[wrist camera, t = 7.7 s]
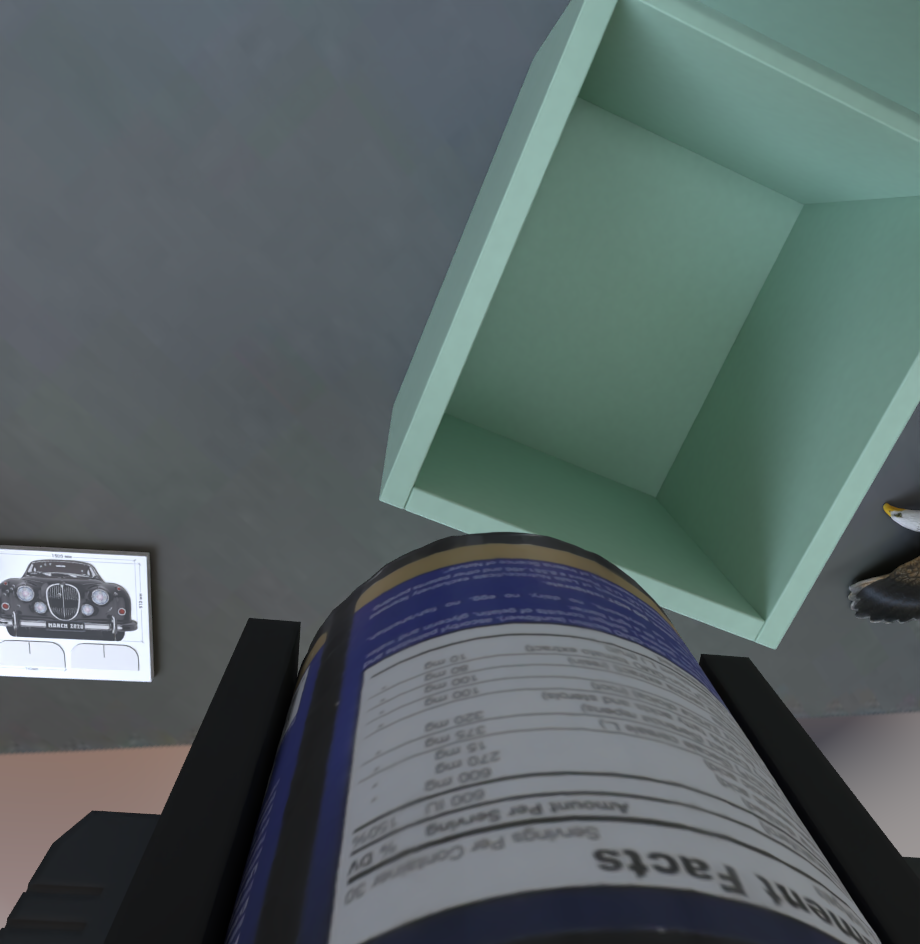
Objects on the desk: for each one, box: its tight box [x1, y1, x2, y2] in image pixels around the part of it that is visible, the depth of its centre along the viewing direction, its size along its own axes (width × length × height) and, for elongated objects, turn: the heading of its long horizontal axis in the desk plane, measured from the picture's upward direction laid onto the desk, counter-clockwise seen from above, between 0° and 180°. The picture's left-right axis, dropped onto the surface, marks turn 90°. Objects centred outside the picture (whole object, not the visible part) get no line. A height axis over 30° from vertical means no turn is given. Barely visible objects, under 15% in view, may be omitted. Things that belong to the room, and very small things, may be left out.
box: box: [379, 0, 920, 649], centre depth 29 cm, size 16×14×13 cm
